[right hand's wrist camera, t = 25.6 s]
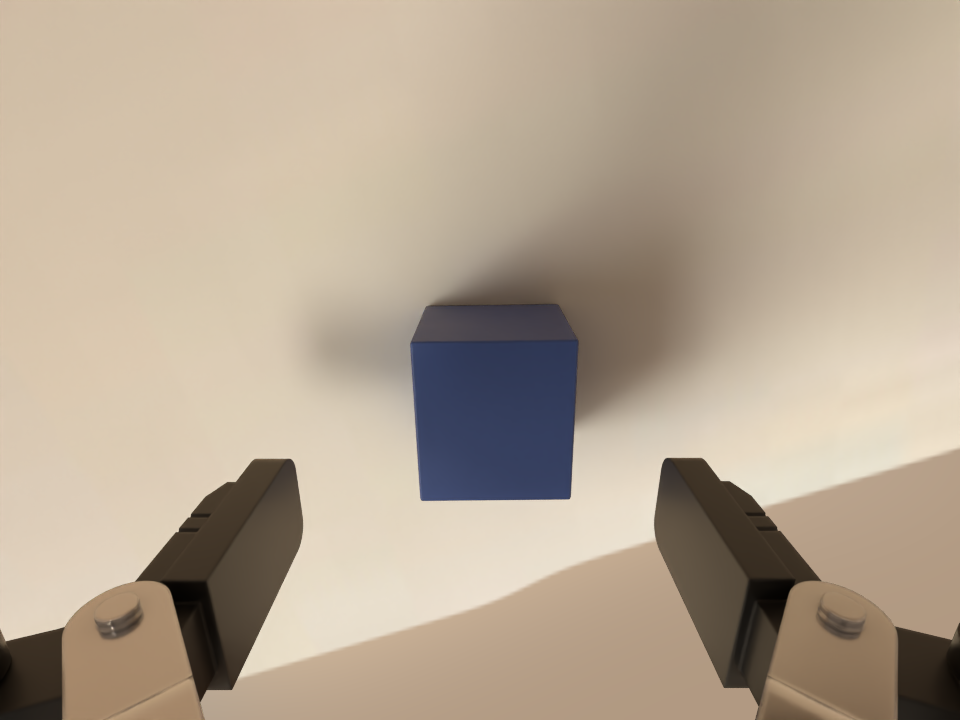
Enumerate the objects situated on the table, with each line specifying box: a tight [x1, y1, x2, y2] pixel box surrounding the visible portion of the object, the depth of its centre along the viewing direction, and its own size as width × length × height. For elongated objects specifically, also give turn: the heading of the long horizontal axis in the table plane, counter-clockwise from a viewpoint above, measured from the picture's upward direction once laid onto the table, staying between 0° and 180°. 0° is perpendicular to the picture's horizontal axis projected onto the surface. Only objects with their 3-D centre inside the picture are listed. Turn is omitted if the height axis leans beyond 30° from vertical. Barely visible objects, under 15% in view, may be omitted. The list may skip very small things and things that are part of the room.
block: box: [410, 304, 578, 501], centre depth 17 cm, size 5×5×4 cm
